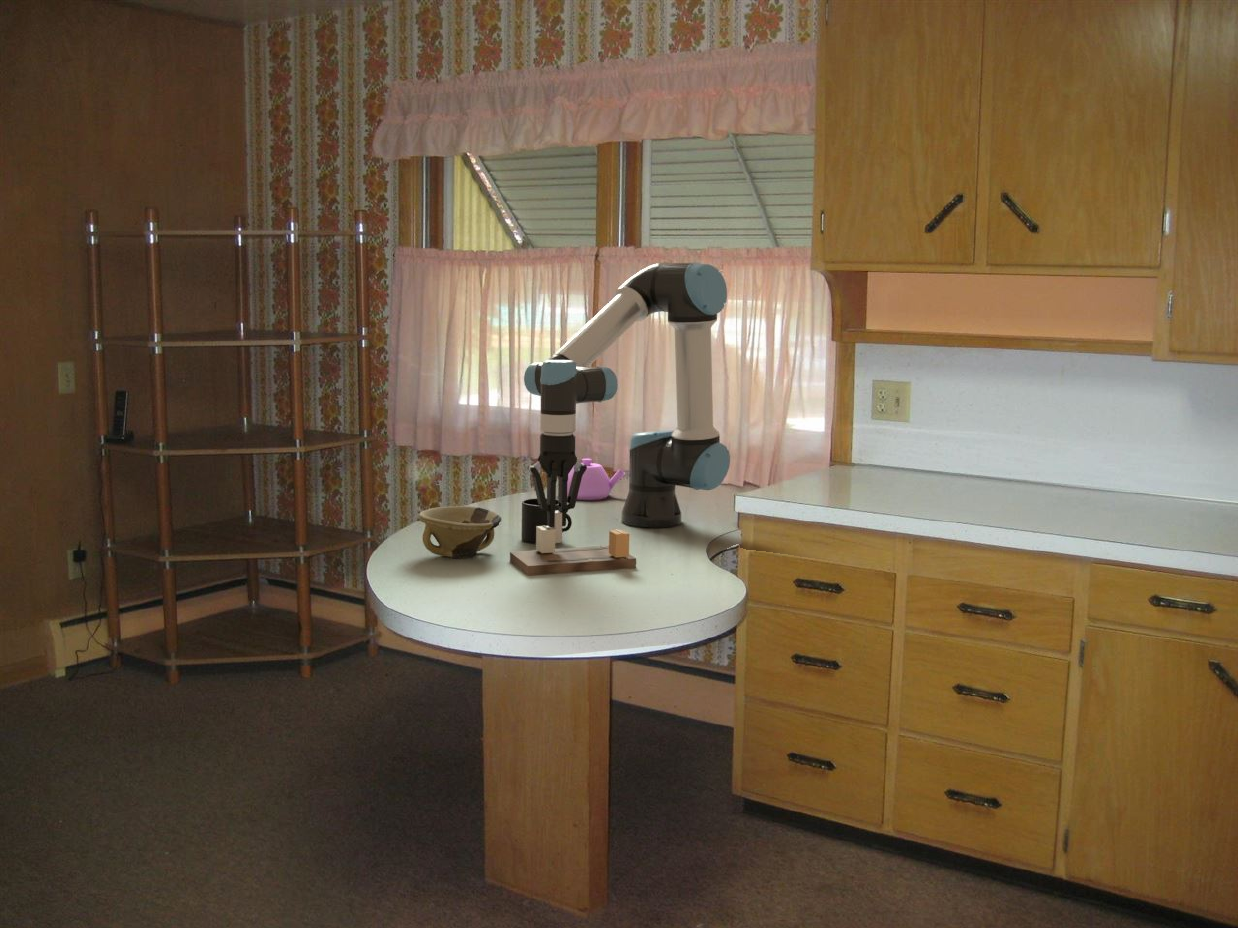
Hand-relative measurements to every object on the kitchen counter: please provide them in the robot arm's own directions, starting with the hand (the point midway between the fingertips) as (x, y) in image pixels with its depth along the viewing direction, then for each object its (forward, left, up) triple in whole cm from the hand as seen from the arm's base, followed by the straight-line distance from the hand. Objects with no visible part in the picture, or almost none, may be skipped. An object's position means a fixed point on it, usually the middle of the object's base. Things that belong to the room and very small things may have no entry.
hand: (556, 541), depth 260 cm
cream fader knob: (+2, 0, -2) cm, 3 cm away
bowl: (+19, -10, -5) cm, 22 cm away
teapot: (-33, -69, -5) cm, 77 cm away
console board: (-2, +4, -4) cm, 6 cm away
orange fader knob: (-11, +8, -2) cm, 14 cm away
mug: (-4, -19, -5) cm, 20 cm away
